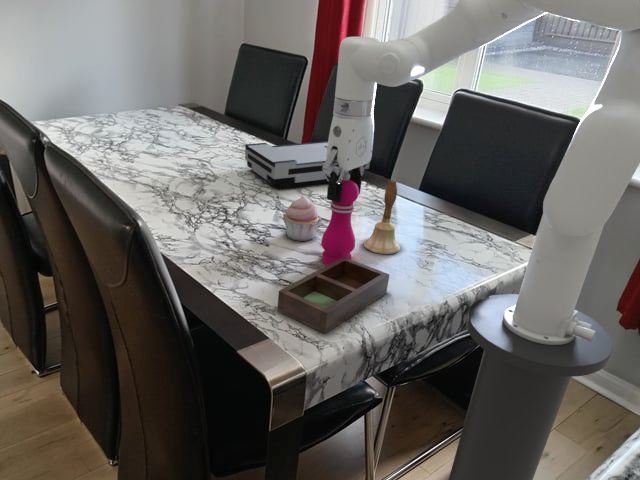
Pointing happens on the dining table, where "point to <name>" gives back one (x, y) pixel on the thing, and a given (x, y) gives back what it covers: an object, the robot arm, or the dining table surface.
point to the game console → (290, 163)
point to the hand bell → (385, 227)
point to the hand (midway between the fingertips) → (343, 196)
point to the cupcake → (301, 220)
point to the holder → (332, 294)
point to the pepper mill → (340, 224)
